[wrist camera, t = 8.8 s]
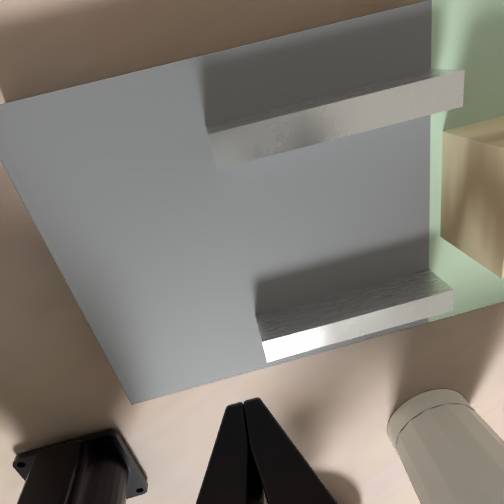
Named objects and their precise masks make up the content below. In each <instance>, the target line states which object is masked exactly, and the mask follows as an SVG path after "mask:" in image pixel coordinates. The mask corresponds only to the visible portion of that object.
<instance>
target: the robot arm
mask: <svg viewBox="0 0 504 504" xmlns="http://www.w3.org/2000/svg"><path fill="white" fill-rule="evenodd" d="M13 467H14V468H15V469H16V471H17V472H18V473H19V474H20V475H21V477H22V478H23V479H24V480H25V484H24V486H23V489H22V492H21V494H20V497H19V499H18V502H17V504H126V499H128V498H132V497H135V496H138V495H142V494H144V493H146V492H147V488H148V483H147V481H146V479H145V478H144V476H143V474H142V472H141V471H140V469H139V467H138V466H137V464H136V462H135V461H134V459H133V457H132V456H131V454H130V452H129V450H128V449H127V447H126V445H125V444H124V442H123V440H122V439H121V437H120V435H119V434H118V432H117V431H115V430H112V429H108V430H104V431H101V432H97V433H93V434H90V435H86V436H83V437H79V438H75V439H72V440H68V441H65V442H61V443H58V444H54V445H50V446H47V447H43V448H40V449H36V450H32V451H29V452H25V453H22V454H19V455H17V456H16V457H15V459H14V462H13ZM264 493H265V495H264ZM265 496H266V499H267V502H268V504H338V503H337V502H336V501H335V499H334V498H333V497H332V495H331V494H330V493H329V491H328V490H327V489H326V487H325V486H324V484H323V483H322V482H321V480H320V479H319V478H318V476H317V475H316V474H315V472H314V471H313V470H312V468H311V467H310V465H309V464H308V463H307V461H306V460H305V459H304V457H303V456H302V455H301V453H300V452H299V451H298V449H297V448H296V446H295V445H294V444H293V442H292V441H291V440H290V438H289V437H288V436H287V434H286V433H285V432H284V430H283V429H282V428H281V426H280V425H279V423H278V422H277V421H276V419H275V418H274V417H273V415H272V414H271V413H270V411H269V410H268V409H267V407H266V406H265V404H264V403H263V402H262V400H261V399H260V398H253V399H250V400H246V401H245V402H244V404H243V403H242V402H239V403H235V404H231V405H228V406H227V407H226V409H225V413H224V416H223V419H222V422H221V425H220V428H219V432H218V435H217V438H216V441H215V444H214V448H213V451H212V454H211V457H210V460H209V464H208V467H207V470H206V473H205V476H204V480H203V483H202V486H201V489H200V492H199V495H198V499H197V502H196V504H266V502H265Z"/></svg>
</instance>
